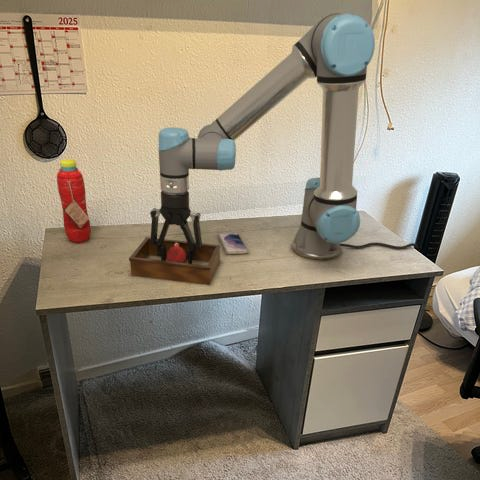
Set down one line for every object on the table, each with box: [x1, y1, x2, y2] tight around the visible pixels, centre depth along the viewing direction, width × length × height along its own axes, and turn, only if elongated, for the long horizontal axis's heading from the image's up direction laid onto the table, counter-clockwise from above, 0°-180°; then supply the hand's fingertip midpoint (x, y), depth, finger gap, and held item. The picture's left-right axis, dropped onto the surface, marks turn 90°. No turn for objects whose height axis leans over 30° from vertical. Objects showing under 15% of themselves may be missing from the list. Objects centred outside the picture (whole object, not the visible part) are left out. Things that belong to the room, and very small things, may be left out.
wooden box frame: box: [128, 236, 222, 286], centre depth 136 cm, size 23×15×6 cm, turn 81°
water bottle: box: [56, 158, 92, 244], centre depth 143 cm, size 12×8×25 cm, turn 14°
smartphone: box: [217, 232, 249, 255], centre depth 153 cm, size 7×1×15 cm
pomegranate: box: [166, 243, 187, 263], centre depth 136 cm, size 6×6×8 cm
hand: (176, 267), depth 138 cm, fingers open, 7 cm apart
